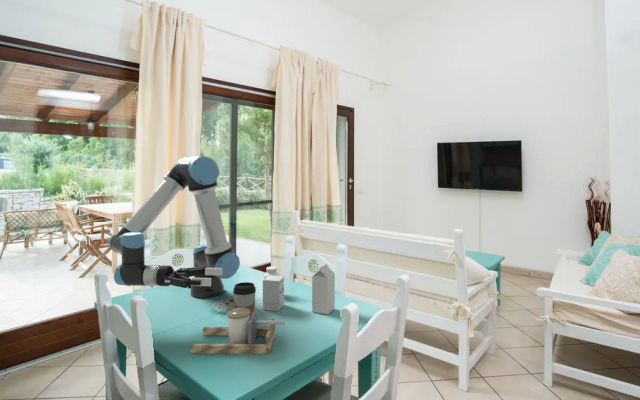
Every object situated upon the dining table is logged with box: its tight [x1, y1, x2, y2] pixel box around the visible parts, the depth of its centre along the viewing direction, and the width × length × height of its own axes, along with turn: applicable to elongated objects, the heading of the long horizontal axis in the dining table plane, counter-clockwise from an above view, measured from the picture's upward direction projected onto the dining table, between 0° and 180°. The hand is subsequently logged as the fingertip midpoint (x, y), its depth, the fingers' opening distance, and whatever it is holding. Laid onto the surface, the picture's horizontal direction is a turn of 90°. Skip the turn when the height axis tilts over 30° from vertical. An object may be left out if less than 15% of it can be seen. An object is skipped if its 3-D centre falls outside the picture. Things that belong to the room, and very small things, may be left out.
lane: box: [189, 318, 276, 355], centre depth 117 cm, size 25×13×6 cm, turn 90°
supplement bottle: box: [263, 266, 280, 280], centre depth 163 cm, size 7×7×13 cm
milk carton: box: [311, 263, 336, 315], centre depth 144 cm, size 7×7×19 cm
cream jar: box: [226, 307, 250, 344], centre depth 116 cm, size 7×7×11 cm
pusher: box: [248, 309, 285, 344], centre depth 116 cm, size 11×10×9 cm
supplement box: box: [262, 275, 285, 312], centre depth 148 cm, size 7×7×13 cm
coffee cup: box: [232, 281, 257, 317], centre depth 131 cm, size 8×8×15 cm
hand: (216, 276), depth 129 cm, fingers open, 13 cm apart
